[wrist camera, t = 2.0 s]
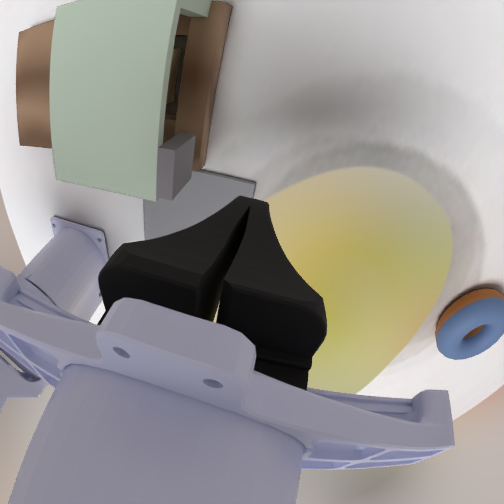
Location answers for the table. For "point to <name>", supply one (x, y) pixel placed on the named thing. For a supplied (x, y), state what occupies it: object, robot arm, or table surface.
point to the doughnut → (471, 324)
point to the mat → (193, 203)
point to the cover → (118, 96)
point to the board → (187, 119)
